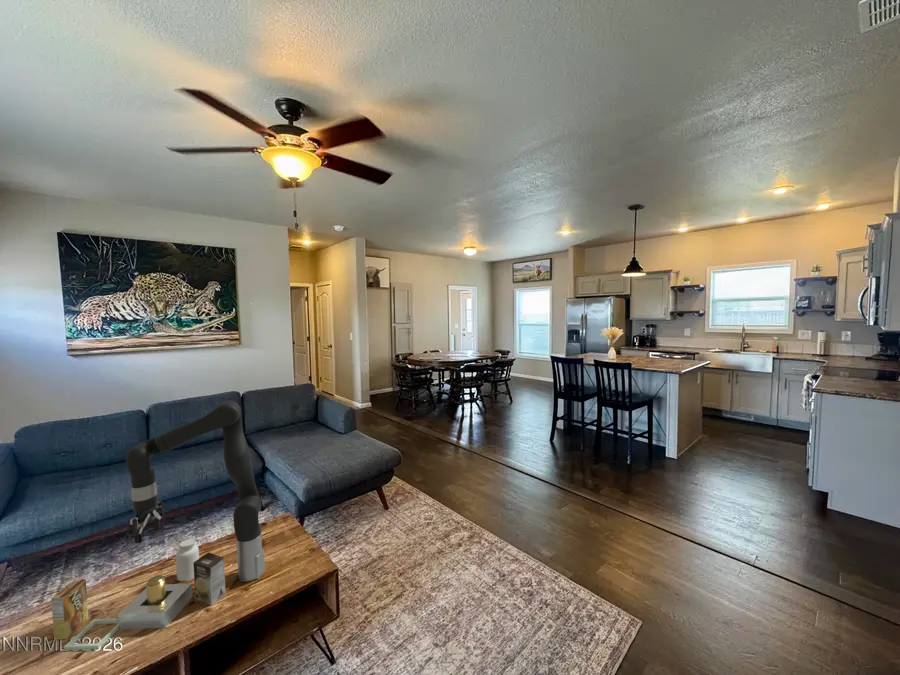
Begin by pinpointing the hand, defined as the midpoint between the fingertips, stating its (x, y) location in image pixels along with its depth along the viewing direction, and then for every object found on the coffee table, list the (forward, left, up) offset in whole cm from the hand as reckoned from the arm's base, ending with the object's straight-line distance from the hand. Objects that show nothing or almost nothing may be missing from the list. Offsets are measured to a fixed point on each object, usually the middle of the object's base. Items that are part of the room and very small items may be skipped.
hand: (148, 535), depth 143 cm
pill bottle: (-6, -12, -26) cm, 29 cm away
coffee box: (-23, +1, -26) cm, 35 cm away
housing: (-8, +8, -26) cm, 28 cm away
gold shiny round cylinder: (-8, +8, -25) cm, 27 cm away
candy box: (+18, +13, -26) cm, 34 cm away
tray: (+6, +17, -26) cm, 31 cm away
